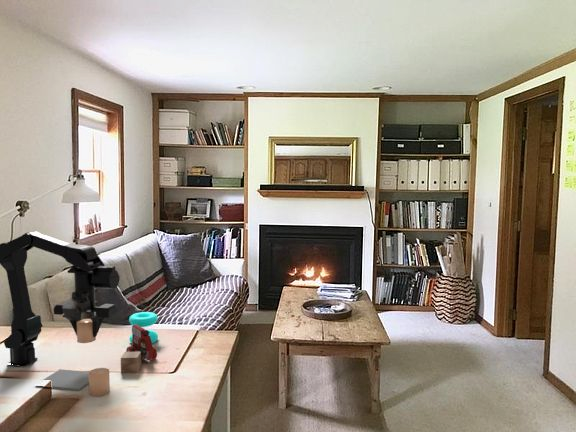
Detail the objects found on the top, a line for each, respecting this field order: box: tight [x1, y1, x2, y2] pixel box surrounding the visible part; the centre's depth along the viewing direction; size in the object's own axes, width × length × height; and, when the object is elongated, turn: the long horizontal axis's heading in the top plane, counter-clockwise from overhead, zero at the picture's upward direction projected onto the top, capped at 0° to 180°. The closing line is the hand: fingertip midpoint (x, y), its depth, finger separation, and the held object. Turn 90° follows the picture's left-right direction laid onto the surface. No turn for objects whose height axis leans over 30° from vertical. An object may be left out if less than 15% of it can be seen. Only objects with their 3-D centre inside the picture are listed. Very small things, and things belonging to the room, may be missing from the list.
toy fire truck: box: [125, 325, 158, 363], centre depth 160 cm, size 7×12×10 cm, turn 42°
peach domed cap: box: [88, 367, 111, 398], centre depth 136 cm, size 5×5×6 cm
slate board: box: [42, 368, 90, 392], centre depth 143 cm, size 14×11×1 cm
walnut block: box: [120, 351, 142, 374], centre depth 151 cm, size 5×5×5 cm
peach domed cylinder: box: [76, 318, 97, 344], centre depth 151 cm, size 5×5×6 cm
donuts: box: [128, 311, 159, 344], centre depth 176 cm, size 10×10×10 cm
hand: (86, 336), depth 151 cm, fingers closed on peach domed cylinder, 5 cm apart
